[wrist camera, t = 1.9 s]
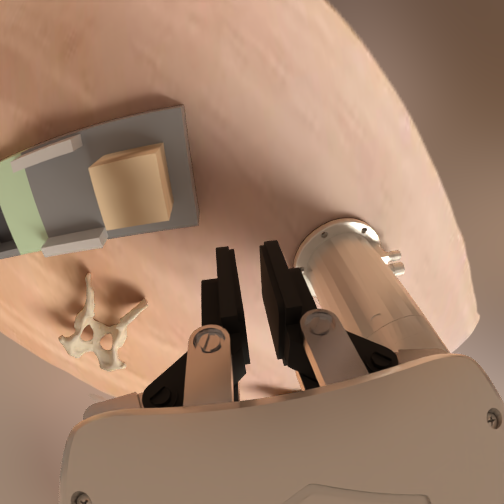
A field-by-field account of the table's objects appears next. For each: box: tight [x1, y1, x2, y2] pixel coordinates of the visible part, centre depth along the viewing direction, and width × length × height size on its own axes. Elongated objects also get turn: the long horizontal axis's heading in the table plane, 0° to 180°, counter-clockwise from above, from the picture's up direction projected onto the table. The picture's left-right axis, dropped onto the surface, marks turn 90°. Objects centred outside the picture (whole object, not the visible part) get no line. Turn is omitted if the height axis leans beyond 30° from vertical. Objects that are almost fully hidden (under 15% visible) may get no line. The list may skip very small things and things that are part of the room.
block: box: [88, 143, 174, 231], centre depth 23 cm, size 6×6×4 cm
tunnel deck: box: [0, 105, 199, 259], centre depth 24 cm, size 31×12×5 cm, turn 93°
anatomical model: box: [58, 273, 148, 372], centre depth 36 cm, size 16×12×5 cm
